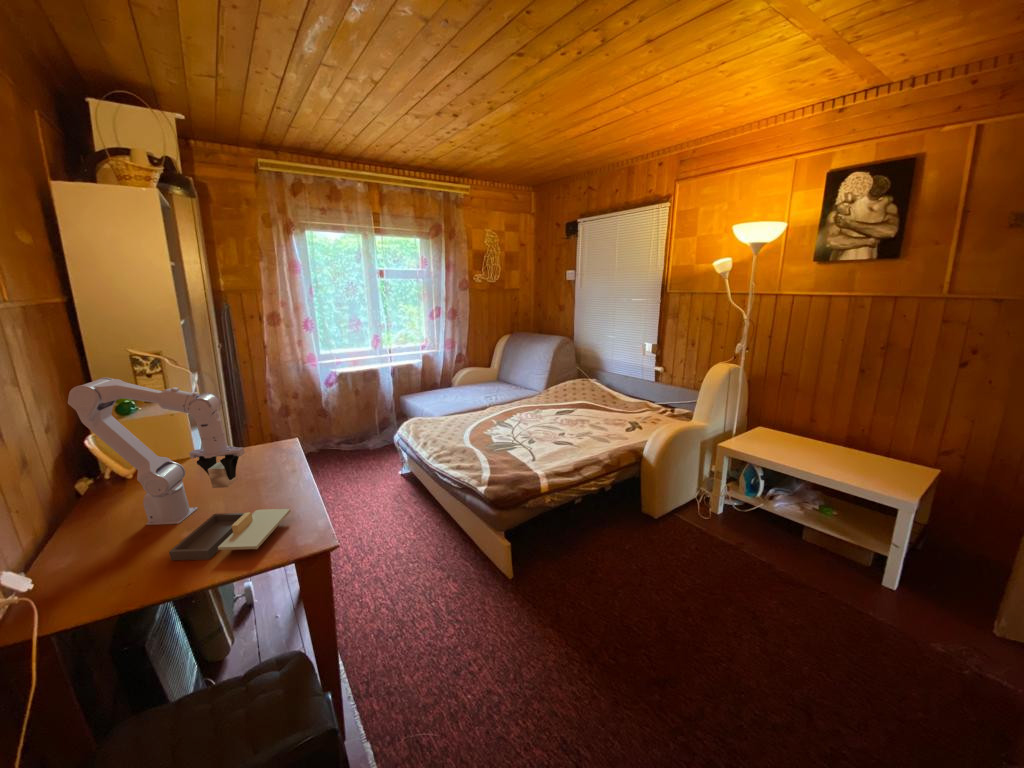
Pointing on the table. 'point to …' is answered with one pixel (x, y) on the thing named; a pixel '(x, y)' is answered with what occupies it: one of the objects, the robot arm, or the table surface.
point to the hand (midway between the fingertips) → (223, 478)
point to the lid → (253, 529)
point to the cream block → (219, 476)
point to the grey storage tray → (205, 538)
